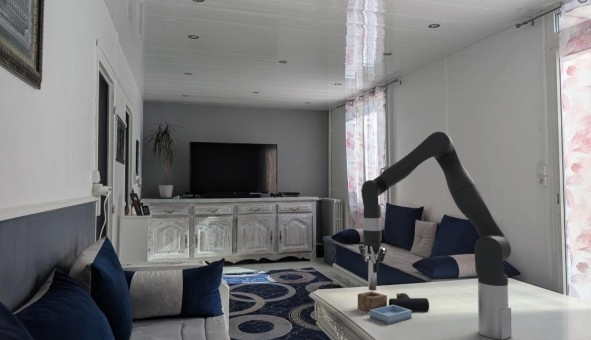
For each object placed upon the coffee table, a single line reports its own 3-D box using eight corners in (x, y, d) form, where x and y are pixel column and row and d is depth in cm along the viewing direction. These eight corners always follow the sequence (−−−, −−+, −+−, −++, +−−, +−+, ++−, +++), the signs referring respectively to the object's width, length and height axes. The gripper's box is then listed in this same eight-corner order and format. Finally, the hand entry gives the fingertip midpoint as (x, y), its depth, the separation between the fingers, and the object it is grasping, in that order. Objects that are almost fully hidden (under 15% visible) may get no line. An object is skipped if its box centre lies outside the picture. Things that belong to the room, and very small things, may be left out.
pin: (378, 289, 162) (378, 259, 163) (372, 290, 161) (372, 260, 161) (372, 288, 165) (372, 258, 166) (366, 289, 163) (366, 259, 164)
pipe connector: (384, 292, 171) (418, 291, 172) (383, 304, 171) (418, 304, 172) (392, 300, 160) (429, 299, 161) (392, 313, 160) (429, 313, 161)
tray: (411, 318, 152) (411, 310, 152) (388, 324, 145) (388, 316, 145) (393, 312, 160) (393, 304, 160) (370, 318, 152) (370, 310, 152)
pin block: (386, 310, 162) (386, 295, 162) (372, 314, 157) (372, 298, 157) (371, 305, 168) (371, 291, 169) (357, 308, 164) (357, 293, 164)
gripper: (391, 230, 161) (392, 273, 160) (366, 227, 172) (366, 268, 171) (378, 230, 156) (378, 275, 155) (353, 228, 168) (353, 270, 167)
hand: (372, 271), depth 163 cm, fingers closed on pin, 3 cm apart
